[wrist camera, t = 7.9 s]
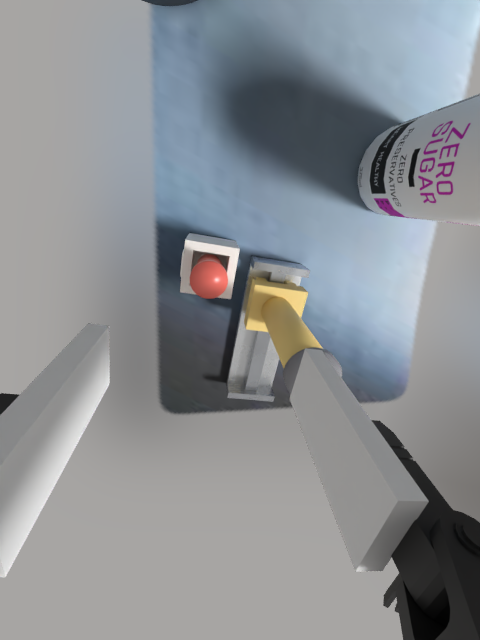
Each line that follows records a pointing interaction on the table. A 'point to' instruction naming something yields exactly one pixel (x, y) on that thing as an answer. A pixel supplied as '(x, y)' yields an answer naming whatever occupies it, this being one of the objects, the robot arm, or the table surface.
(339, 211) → the table surface
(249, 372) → the rail
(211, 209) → the table surface
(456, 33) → the table surface
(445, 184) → the supplement can
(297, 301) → the sliding lever handle
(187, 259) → the white button housing
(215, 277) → the button
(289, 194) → the table surface
